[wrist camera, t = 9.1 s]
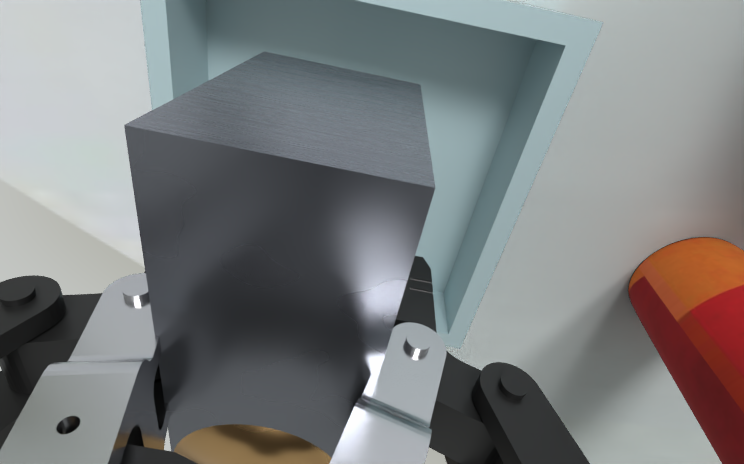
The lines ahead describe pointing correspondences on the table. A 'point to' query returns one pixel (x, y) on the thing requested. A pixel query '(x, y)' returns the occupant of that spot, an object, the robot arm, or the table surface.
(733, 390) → the paper cup
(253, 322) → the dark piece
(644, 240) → the table surface
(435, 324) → the robot arm
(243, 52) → the bin
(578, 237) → the table surface
